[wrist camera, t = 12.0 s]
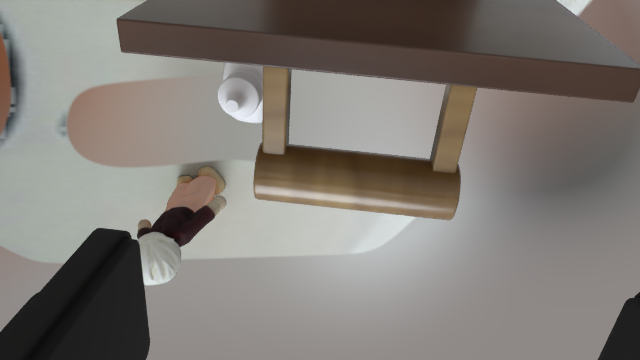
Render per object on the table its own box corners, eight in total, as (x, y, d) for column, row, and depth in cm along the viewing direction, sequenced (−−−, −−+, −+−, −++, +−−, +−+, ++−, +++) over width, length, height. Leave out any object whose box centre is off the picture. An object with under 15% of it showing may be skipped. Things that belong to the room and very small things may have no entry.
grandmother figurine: (186, 218, 45) (127, 317, 34) (158, 186, 44) (86, 278, 33) (253, 179, 43) (212, 271, 31) (225, 144, 41) (172, 227, 30)
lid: (114, 18, 11) (146, 222, 14) (649, 70, 11) (560, 268, 14) (258, -69, 25) (258, 44, 28) (493, -49, 25) (466, 64, 28)
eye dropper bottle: (227, 65, 38) (173, 121, 28) (266, 3, 36) (223, 39, 25) (274, 98, 39) (239, 165, 29) (315, 40, 37) (294, 90, 26)
